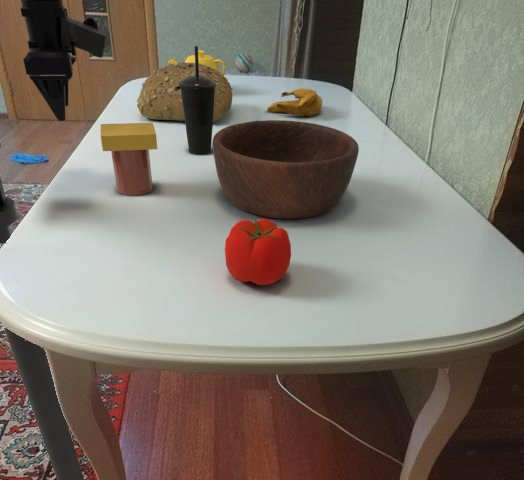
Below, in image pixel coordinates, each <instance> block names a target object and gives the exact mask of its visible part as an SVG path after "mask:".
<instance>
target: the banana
mask: <svg viewBox="0 0 524 480" xmlns="http://www.w3.org/2000/svg"><path fill="white" fill-rule="evenodd" d="M289 96H294V98H295V100H282V101H276V102H273V103H272V104H271V105H269V106H268V107H267V112H274V113H285V114H290V115H295V116H300V117H313V116H315V115H318V114H319V113H320V111H321V109H322V107H323V98H322V97H321V95H319V94H318V93H317V91H315V90H313V89H311V88H305V87H304V88H302V87H301V88H296V89H294V90H291V91H288V92H287V91H284V92H282V93H281V96H280V97H281V98H284V97H289Z"/></svg>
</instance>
